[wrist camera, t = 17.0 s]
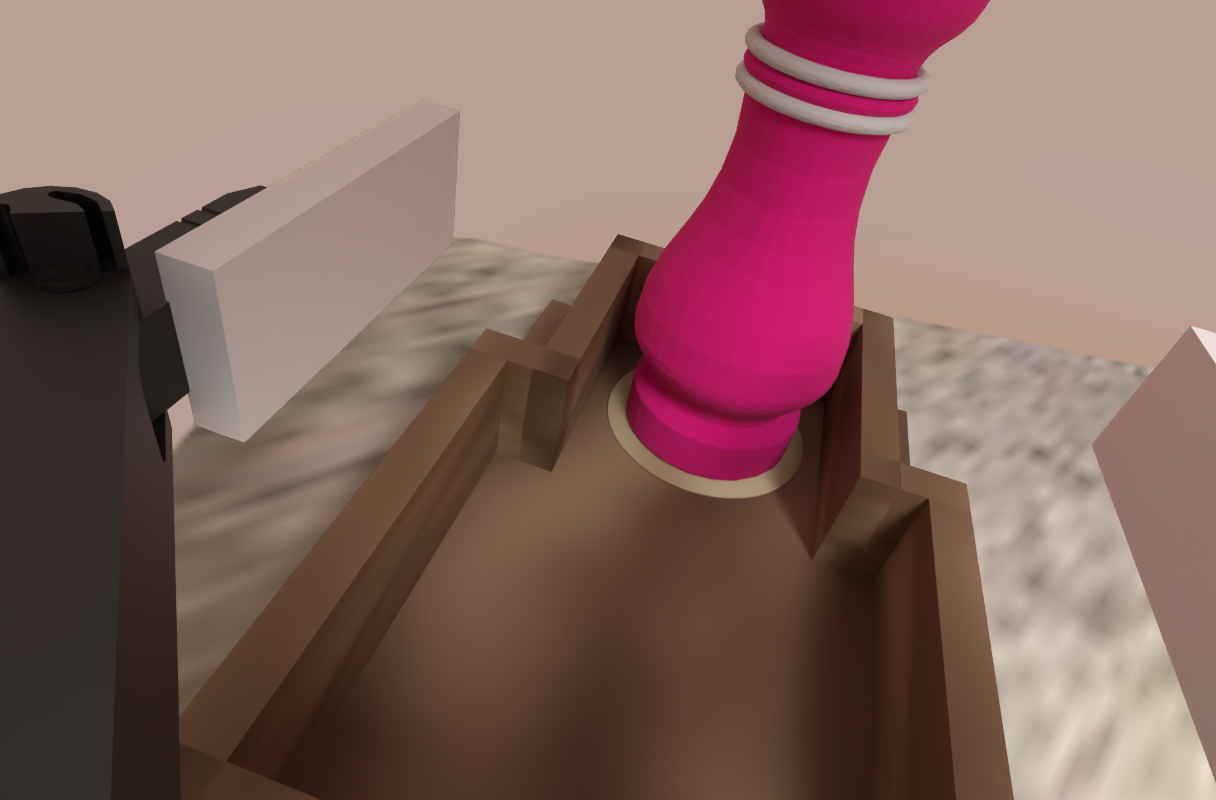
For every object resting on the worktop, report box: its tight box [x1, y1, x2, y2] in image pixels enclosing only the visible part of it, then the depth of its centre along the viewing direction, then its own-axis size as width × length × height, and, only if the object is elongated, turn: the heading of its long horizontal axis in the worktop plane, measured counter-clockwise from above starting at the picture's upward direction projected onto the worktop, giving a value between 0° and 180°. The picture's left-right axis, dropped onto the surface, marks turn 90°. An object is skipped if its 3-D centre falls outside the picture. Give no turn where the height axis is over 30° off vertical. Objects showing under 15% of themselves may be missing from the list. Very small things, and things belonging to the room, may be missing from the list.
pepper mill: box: [626, 0, 990, 481], centre depth 22 cm, size 7×7×20 cm
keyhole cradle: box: [179, 234, 1014, 800], centre depth 22 cm, size 16×24×5 cm, turn 164°
